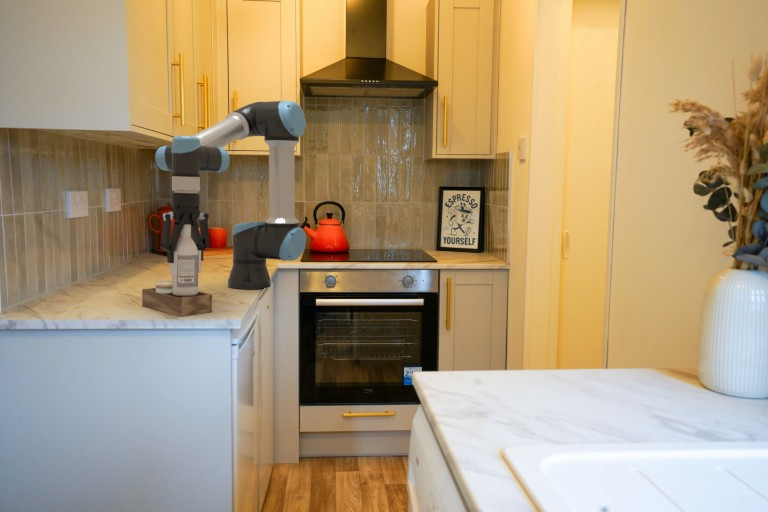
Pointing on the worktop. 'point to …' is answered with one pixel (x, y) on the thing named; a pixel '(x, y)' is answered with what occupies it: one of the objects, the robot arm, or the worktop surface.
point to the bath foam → (186, 265)
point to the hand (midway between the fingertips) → (185, 273)
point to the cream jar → (164, 286)
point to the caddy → (177, 302)
